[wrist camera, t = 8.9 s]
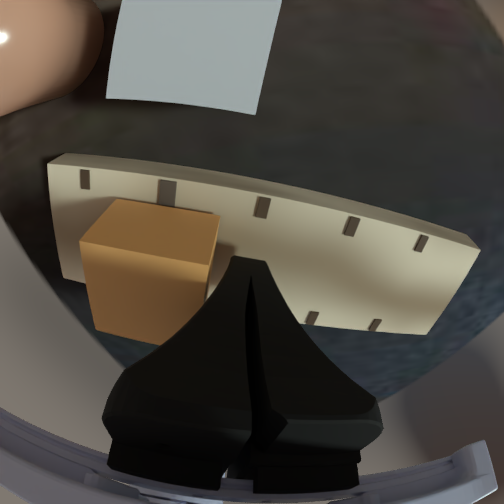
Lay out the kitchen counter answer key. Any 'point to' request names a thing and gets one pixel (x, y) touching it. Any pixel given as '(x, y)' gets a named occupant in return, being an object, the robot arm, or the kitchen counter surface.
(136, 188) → the counting board
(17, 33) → the tan rounded cylinder
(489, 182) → the kitchen counter surface
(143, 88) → the grey block
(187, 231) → the tan square block
